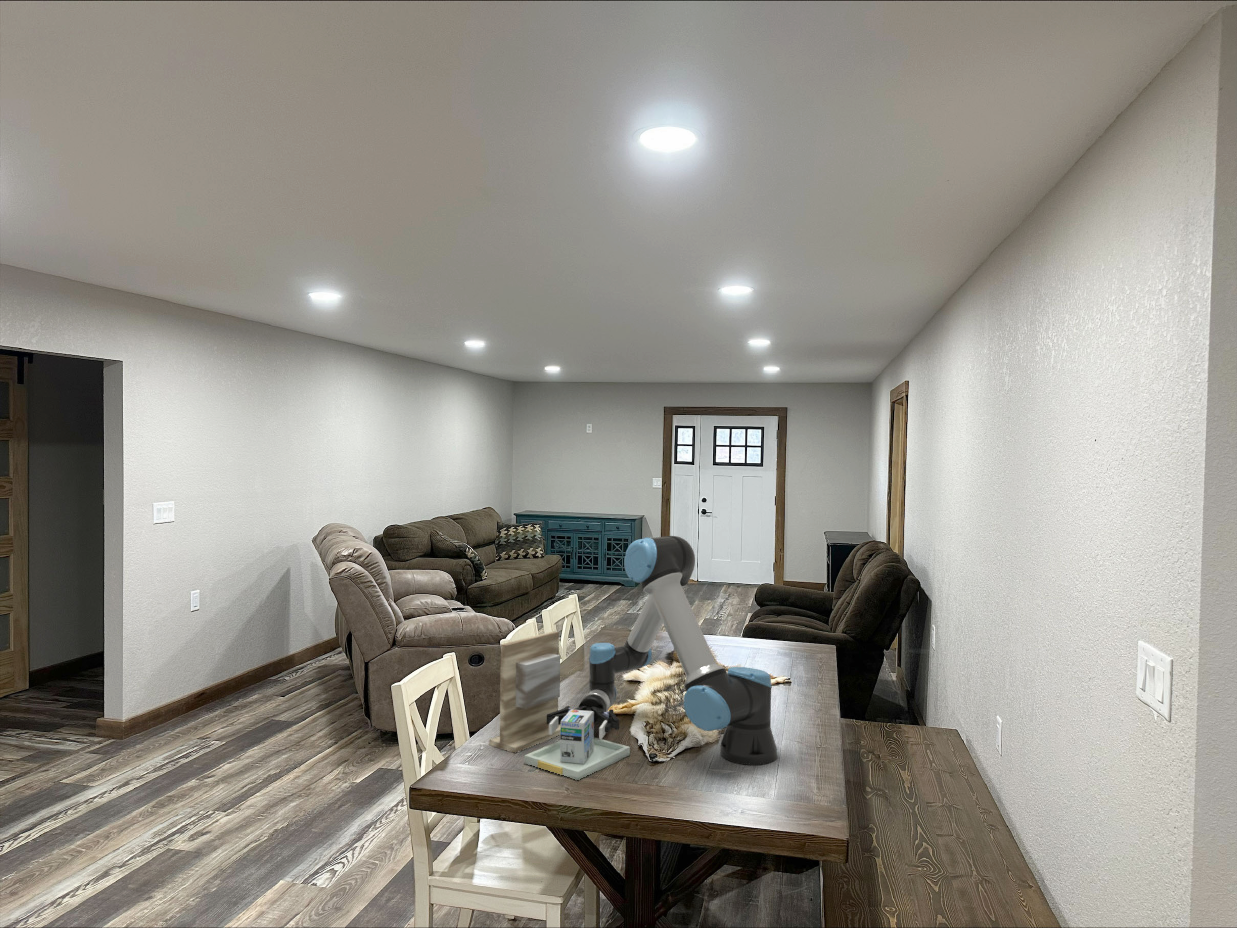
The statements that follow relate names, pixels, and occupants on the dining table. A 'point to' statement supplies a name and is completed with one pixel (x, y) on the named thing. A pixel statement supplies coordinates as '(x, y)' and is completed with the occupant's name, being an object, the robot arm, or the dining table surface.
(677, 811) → the dining table surface
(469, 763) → the dining table surface
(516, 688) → the wall unit
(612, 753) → the tray
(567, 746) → the light bulb box
